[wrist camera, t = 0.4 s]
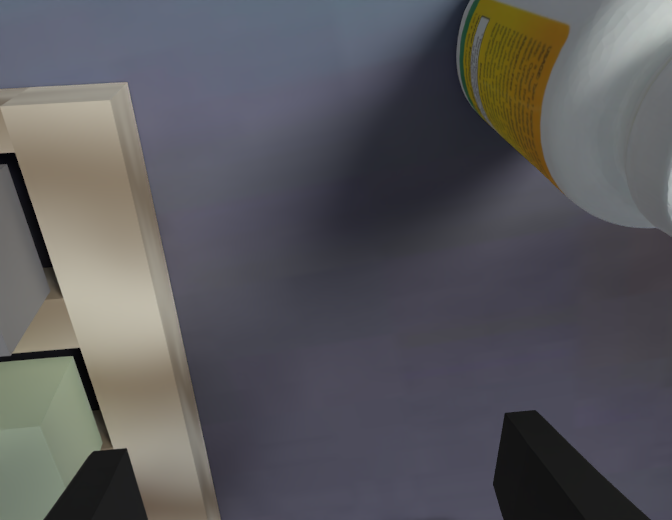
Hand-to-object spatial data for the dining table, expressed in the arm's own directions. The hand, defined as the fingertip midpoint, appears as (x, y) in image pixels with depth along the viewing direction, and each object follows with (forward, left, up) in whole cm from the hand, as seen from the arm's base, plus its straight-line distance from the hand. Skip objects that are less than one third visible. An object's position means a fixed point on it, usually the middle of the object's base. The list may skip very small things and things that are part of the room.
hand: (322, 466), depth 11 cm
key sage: (-5, +10, -7) cm, 13 cm away
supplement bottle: (+6, -7, -10) cm, 14 cm away
